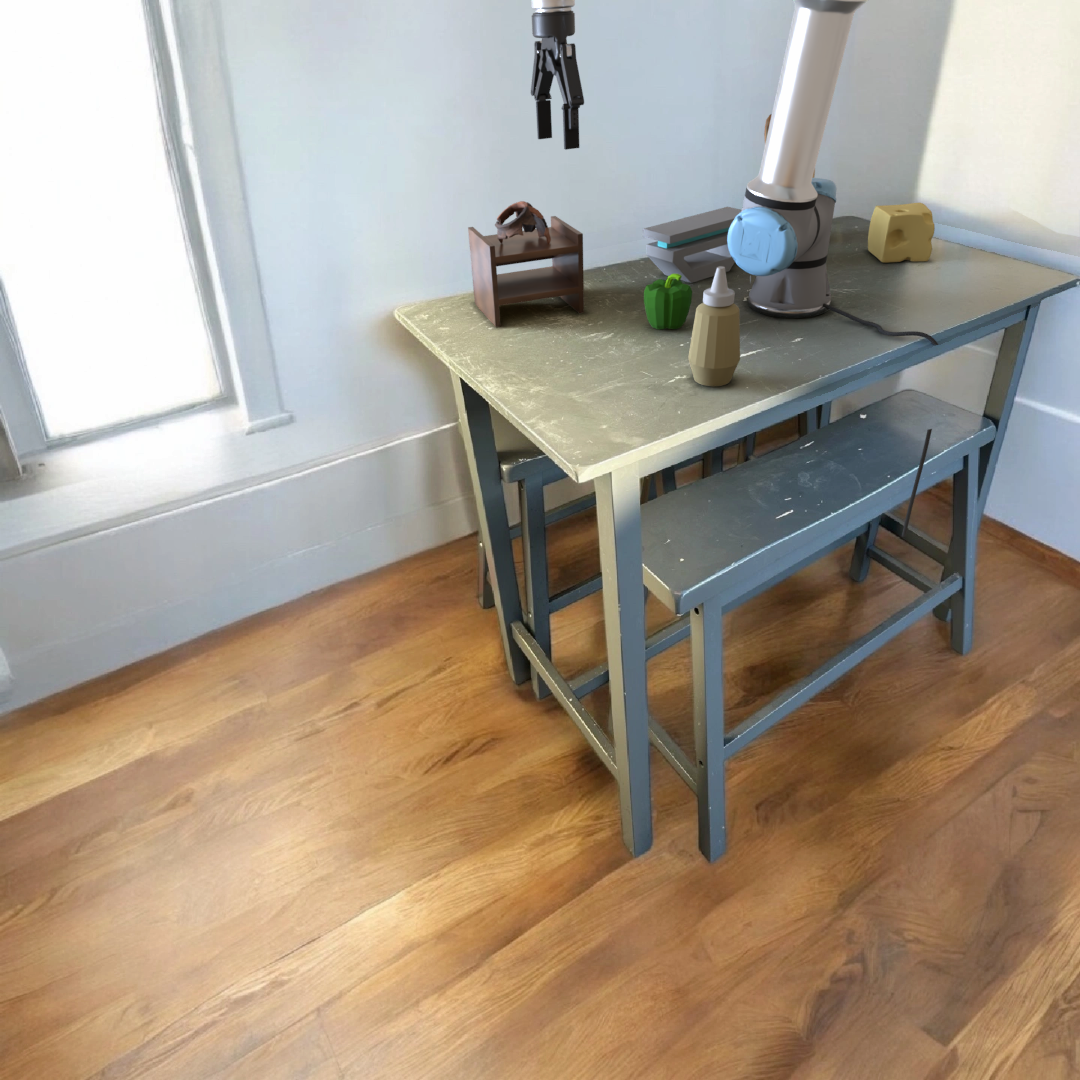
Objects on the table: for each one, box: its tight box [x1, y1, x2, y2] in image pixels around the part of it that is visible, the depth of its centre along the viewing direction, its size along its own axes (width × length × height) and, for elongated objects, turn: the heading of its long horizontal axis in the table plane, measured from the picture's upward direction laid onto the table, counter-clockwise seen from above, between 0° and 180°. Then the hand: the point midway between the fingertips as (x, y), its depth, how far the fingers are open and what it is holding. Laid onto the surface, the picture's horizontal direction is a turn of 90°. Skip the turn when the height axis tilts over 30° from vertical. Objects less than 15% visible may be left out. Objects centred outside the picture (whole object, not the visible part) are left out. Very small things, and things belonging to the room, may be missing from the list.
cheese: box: [867, 202, 936, 264], centre depth 184 cm, size 10×11×10 cm
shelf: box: [467, 215, 585, 328], centre depth 165 cm, size 15×18×15 cm
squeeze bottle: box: [687, 266, 741, 387], centre depth 132 cm, size 8×8×18 cm
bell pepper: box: [643, 273, 693, 330], centre depth 155 cm, size 8×8×10 cm
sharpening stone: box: [642, 206, 742, 284], centre depth 180 cm, size 25×8×11 cm, turn 127°
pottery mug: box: [494, 200, 551, 244], centre depth 161 cm, size 12×9×8 cm
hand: (557, 143), depth 160 cm, fingers open, 13 cm apart
